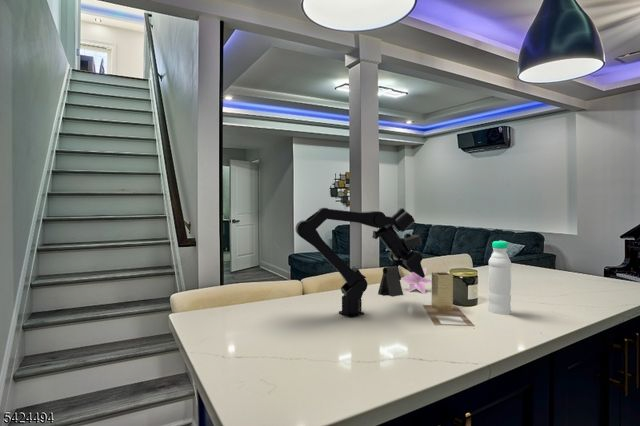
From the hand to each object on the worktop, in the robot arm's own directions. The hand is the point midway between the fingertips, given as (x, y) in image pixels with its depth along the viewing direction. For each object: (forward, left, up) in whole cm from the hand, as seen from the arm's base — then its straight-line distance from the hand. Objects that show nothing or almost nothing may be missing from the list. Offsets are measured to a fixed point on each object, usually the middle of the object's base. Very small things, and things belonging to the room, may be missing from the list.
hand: (418, 274), depth 128 cm
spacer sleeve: (+6, -6, -12) cm, 15 cm away
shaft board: (+1, -10, -13) cm, 17 cm away
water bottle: (+19, -20, -13) cm, 30 cm away
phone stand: (+9, +20, -13) cm, 25 cm away
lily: (+24, +18, -13) cm, 32 cm away
